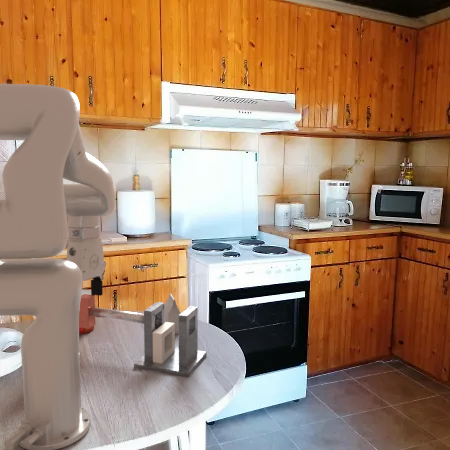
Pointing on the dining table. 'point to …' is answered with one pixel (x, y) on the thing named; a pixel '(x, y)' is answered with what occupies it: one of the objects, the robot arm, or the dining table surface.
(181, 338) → the bearing block
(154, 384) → the dining table surface
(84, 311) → the shaft
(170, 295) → the grey pointed block
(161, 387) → the dining table surface
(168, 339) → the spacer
